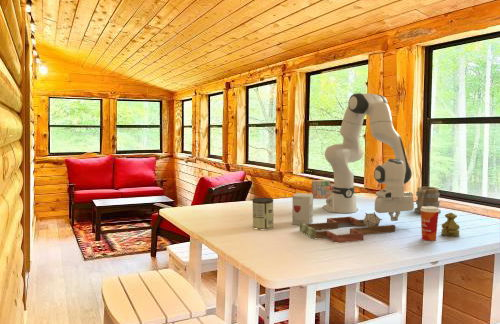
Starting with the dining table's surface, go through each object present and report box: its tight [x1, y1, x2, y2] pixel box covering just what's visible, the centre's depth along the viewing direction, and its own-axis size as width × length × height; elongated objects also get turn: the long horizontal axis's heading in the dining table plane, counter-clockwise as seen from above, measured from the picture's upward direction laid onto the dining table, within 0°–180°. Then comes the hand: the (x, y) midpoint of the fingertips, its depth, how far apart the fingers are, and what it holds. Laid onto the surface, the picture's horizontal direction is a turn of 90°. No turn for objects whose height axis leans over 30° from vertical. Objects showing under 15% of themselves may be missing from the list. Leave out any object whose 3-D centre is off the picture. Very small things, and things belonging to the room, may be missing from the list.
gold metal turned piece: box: [440, 212, 461, 238], centre depth 191 cm, size 7×7×10 cm
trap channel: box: [299, 216, 396, 243], centre depth 199 cm, size 32×42×4 cm
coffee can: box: [251, 197, 274, 230], centre depth 207 cm, size 10×10×14 cm
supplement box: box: [291, 192, 314, 226], centre depth 215 cm, size 9×9×15 cm
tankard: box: [414, 186, 441, 215], centre depth 238 cm, size 20×13×15 cm, turn 135°
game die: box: [361, 211, 383, 227], centre depth 203 cm, size 9×8×10 cm
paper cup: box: [420, 206, 440, 242], centre depth 184 cm, size 8×8×14 cm
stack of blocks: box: [311, 179, 334, 200], centre depth 290 cm, size 21×6×12 cm, turn 86°
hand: (394, 220), depth 206 cm, fingers closed
